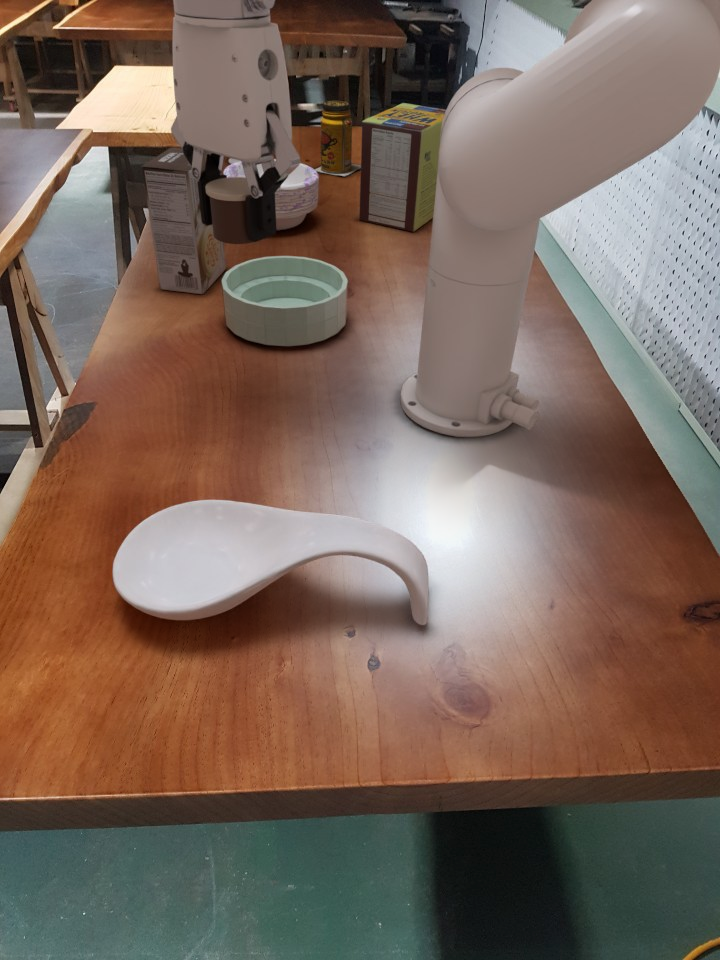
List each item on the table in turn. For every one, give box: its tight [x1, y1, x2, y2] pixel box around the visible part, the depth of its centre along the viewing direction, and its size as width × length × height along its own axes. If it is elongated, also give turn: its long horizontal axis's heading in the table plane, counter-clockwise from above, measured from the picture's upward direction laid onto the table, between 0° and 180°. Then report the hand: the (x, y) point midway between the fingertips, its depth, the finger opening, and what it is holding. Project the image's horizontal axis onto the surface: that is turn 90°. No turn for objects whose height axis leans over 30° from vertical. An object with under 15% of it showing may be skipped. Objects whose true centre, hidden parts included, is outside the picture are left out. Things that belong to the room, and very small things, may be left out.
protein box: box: [358, 102, 446, 233], centre depth 118 cm, size 10×15×16 cm
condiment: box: [314, 100, 361, 177], centre depth 138 cm, size 7×8×12 cm
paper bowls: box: [222, 158, 320, 231], centre depth 115 cm, size 15×15×8 cm
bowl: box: [221, 255, 349, 347], centre depth 89 cm, size 15×15×6 cm
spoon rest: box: [112, 499, 430, 626], centre depth 53 cm, size 24×12×7 cm, turn 86°
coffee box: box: [141, 147, 227, 295], centre depth 94 cm, size 9×6×16 cm
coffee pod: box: [205, 177, 254, 245], centre depth 66 cm, size 5×5×4 cm
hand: (238, 227), depth 67 cm, fingers closed on coffee pod, 5 cm apart
